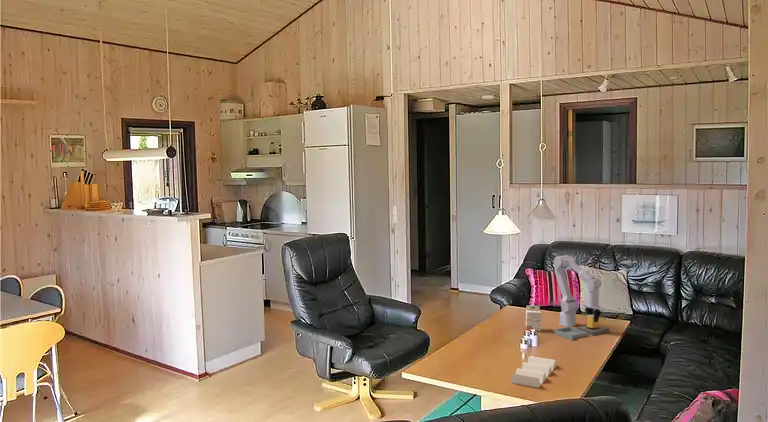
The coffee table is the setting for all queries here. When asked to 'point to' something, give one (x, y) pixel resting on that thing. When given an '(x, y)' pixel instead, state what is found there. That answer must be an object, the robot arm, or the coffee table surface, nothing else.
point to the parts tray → (570, 333)
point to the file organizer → (533, 371)
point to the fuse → (592, 321)
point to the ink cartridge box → (533, 318)
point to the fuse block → (593, 330)
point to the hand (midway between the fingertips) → (593, 320)
